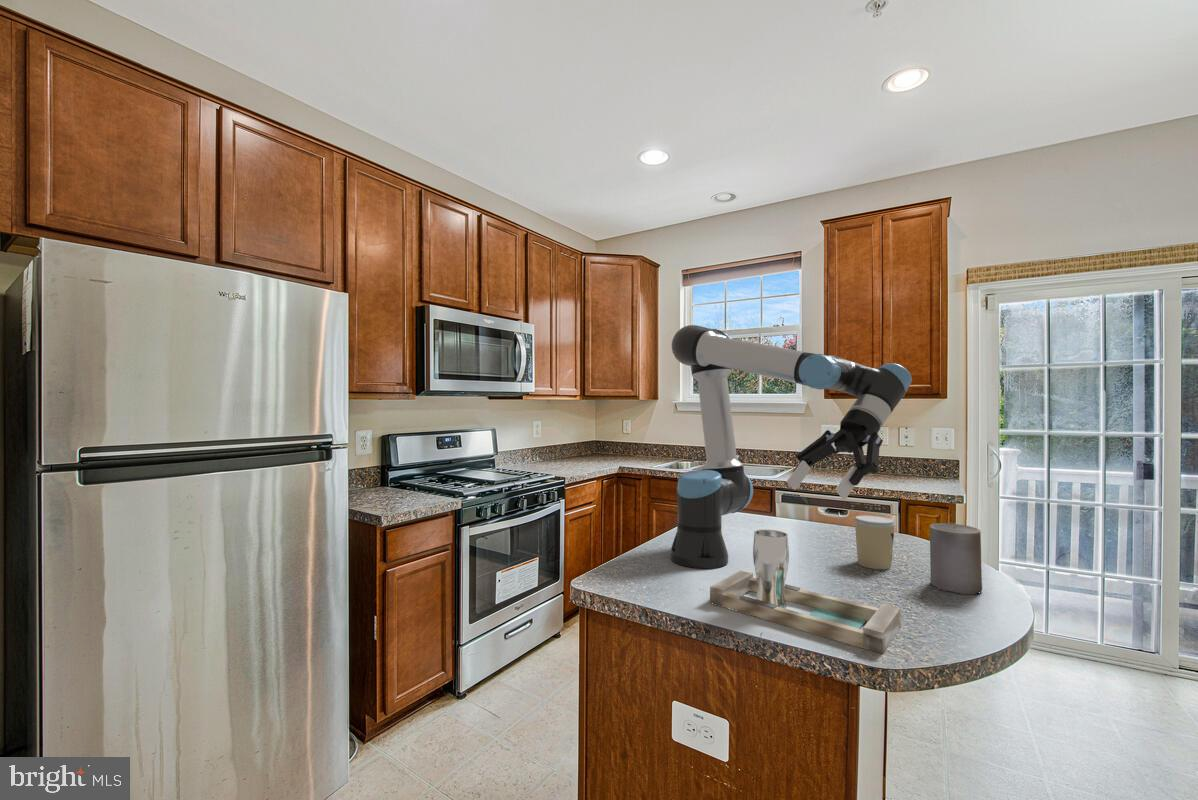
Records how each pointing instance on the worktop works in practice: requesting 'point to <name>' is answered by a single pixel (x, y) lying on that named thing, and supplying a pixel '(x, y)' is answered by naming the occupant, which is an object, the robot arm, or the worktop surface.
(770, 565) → the beer glass
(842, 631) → the wooden serving tray
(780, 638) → the worktop surface
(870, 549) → the coffee cup
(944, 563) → the dark gray cylinder
